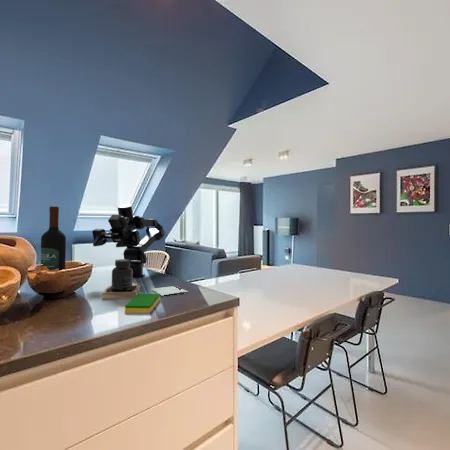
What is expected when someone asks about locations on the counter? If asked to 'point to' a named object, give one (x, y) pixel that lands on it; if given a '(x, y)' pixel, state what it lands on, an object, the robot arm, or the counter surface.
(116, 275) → the supplement bottle
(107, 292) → the frame
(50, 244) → the wine bottle
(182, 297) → the counter surface
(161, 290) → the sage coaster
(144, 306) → the dish sponge
